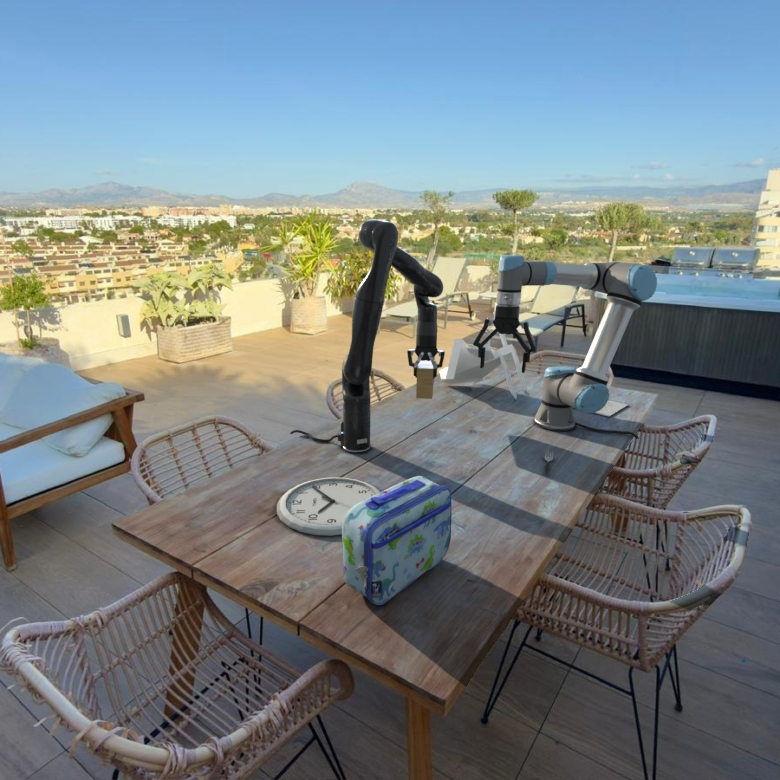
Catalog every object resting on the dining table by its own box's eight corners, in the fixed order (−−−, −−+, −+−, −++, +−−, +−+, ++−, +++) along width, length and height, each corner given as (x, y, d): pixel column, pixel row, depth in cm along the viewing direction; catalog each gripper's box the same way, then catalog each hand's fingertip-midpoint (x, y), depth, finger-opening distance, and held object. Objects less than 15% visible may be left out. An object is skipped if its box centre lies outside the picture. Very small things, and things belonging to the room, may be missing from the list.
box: (420, 378, 218) (420, 351, 215) (434, 378, 218) (435, 352, 214) (416, 398, 193) (417, 368, 190) (432, 398, 192) (433, 368, 189)
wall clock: (392, 527, 129) (268, 531, 127) (391, 533, 130) (269, 537, 127) (383, 473, 158) (282, 475, 155) (383, 478, 158) (282, 480, 156)
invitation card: (608, 416, 214) (573, 407, 224) (608, 416, 214) (573, 408, 224) (628, 404, 229) (594, 396, 238) (628, 405, 229) (594, 397, 238)
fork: (541, 474, 162) (542, 468, 162) (545, 454, 177) (545, 449, 176) (550, 476, 162) (550, 470, 161) (553, 456, 176) (553, 450, 175)
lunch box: (371, 618, 102) (371, 524, 95) (336, 591, 109) (334, 502, 103) (455, 562, 119) (460, 479, 113) (420, 542, 126) (423, 463, 120)
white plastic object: (461, 429, 252) (437, 405, 227) (444, 352, 274) (420, 323, 250) (535, 404, 240) (518, 377, 215) (510, 326, 262) (492, 293, 237)
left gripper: (406, 334, 186) (405, 379, 191) (446, 335, 184) (444, 381, 189) (407, 330, 193) (406, 374, 198) (446, 331, 191) (444, 375, 196)
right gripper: (466, 303, 168) (462, 367, 174) (547, 309, 159) (539, 376, 165) (472, 301, 174) (468, 362, 181) (549, 306, 166) (542, 370, 172)
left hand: (425, 377), depth 194 cm, fingers closed on box, 6 cm apart
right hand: (502, 369), depth 173 cm, fingers open, 13 cm apart
